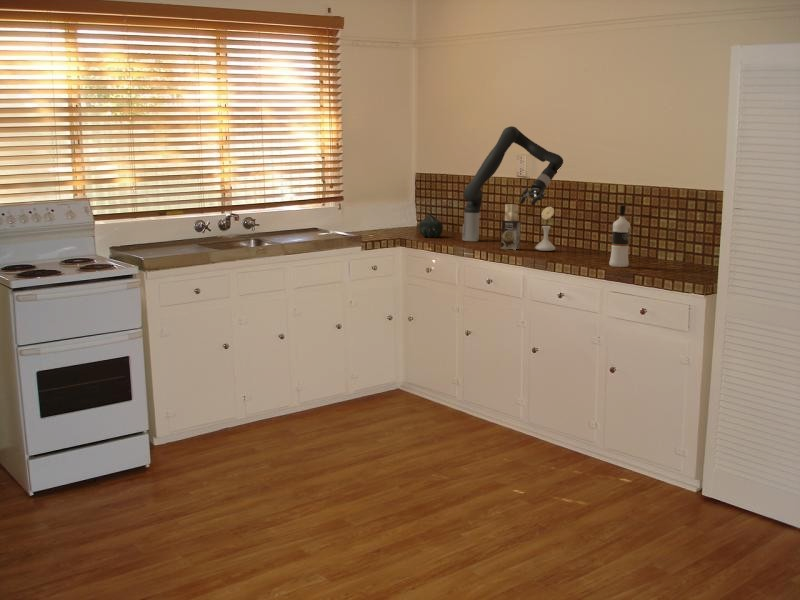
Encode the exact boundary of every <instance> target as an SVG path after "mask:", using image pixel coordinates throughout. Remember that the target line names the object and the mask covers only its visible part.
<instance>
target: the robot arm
mask: <svg viewBox="0 0 800 600" xmlns="http://www.w3.org/2000/svg"><path fill="white" fill-rule="evenodd" d="M513 143H514V144H516V145H518V146H519V147H522V148H523V149H524V150H525V151H526V152H528V153H529V154H530V155H531V156H532V157H534V158H535V159H537V160H539V161H540V162H542V163H544V162H548V165H547V166H546V167H545V168H544V169H543V170H542V171H541V173H540V174H539V175H538V177H536V179H535V180H534V182H533V183H532V184H531V188H529V189H528V188H525V189H524V191H523V192H522V193H521V194H520V197H521V199H520V200H519V204H520V205H523V204H524V203H525V202H526V200H527V199H530V198H533V199H532V200H531V202H530V204H531V206H534V205H535V204H537V202H538V201H542V199H543V198H544V196H545V195H546V192H545V190H546V188H548V187H549V185H550V183H551V181H552V180H553V178H554V177H555V176H556V174H557V173H558V172H557V170H558V169H559V168H560V167H562V165H563V164H564V159H563V157H562V156H561V155H560V154H557V153H554V152H552V151H549V150H547V149H546V148H545V147H542V146H541V145H539V144H537V143H536V142H534V141H533V140H532V139H530V138H528V137H527V136H526V135H525V134H524V133H522V132H521V130H520V129H518V128H517V127H515V126H512V125H511V126H508V127H505V128H504V129H503V131H501V134H500V136H499V138H498V140H497V142H496V144H495V145H494V147H493V148H492V149H491V150H490V152H489V153H488V155H487V156H486V158H485V159H484V160H483V161H482V164H481V166H480V167H479V169H478V170H477V172H476V173H475V175H474V177H473V178H472V180H471V181H470V182H469V183H468V184H467V186H466V187H465V188H464V190H463V193H462V194H463V198H464V200H465V201H467V203H466V206H465V207H464V214H463V217H464V218H463V224H462V232H461V233H462V236H461V238H462V239H461V240H462V241H465V242H479V236H480V233H479V232H480V216H481V215H480V213H481V208H482V202H483V201H482V200H483V199H482V198H483V192H482V189H481V188H482V187H483V185H484V184H485V183H487V181H488V180H490V178H492V176H494V174H495V173H496V172H497V170H498V169H499V167H500V166H501V164H502V162H503V159H504V157H505V154H507V150H509V148H510V147H511V146H512V145H513ZM560 169H561V168H560Z"/></svg>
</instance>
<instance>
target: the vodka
mask: <svg viewBox="0 0 800 600" xmlns="http://www.w3.org/2000/svg"><path fill="white" fill-rule="evenodd" d="M630 228H631V223H630V222H629V220H627V219H626V205H624V204H620V205H619V217H618V219H616V220H615V221H613V223H612V239H611V253H610V259H609V262H608V264H609V266H610V267H614V268H627V267H628V266H629V248H630V246H629V245H630V232H631V229H630Z"/></svg>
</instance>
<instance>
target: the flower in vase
mask: <svg viewBox="0 0 800 600" xmlns="http://www.w3.org/2000/svg"><path fill="white" fill-rule="evenodd" d="M554 214H555V209H554V207H552V206H547V207H545V208H544V209H543V210H542V212H541V218H542V221H543V223H545V224H547V225H542V226H541V227H542V230H543V238H542V239H541V241H540V242H539V243H537V244H536V245H535V246H534V249H535V250H536V251H540V252H541V251H543V252H551V251H555V250H556V247H555V245H554V244H553V243H552V242H551V241H550V240H549V237H548V236H549V232H550V228H551V227H552V226H551V225H555V222H554V220H550V219H551V218H552V217H553V216H554ZM548 219H549V221H548V222H546V221H545V220H548ZM549 225H550V226H549Z"/></svg>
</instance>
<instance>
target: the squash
mask: <svg viewBox="0 0 800 600" xmlns="http://www.w3.org/2000/svg"><path fill="white" fill-rule="evenodd" d="M418 231H419V234H420V235H422V236H423V237H424V238H429V237H431V238H433V237H435V238H439V237H440V236H441V235H442V233H443V225H442V222H441V221H440V219H438V218H437V217H435V216H434V215H432V214H427V215H426V216H425V217H424V218H423V219H422V220H421V221H420V223H419V225H418Z"/></svg>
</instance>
